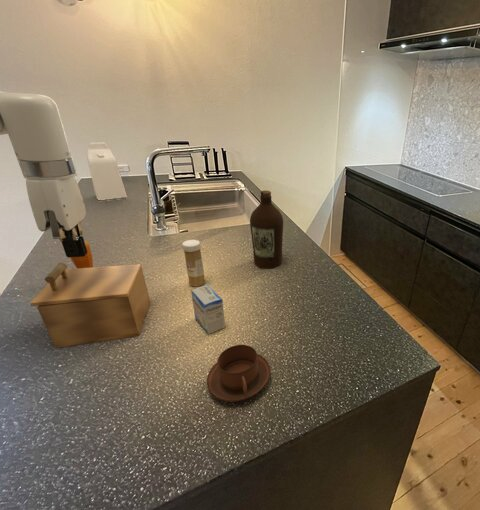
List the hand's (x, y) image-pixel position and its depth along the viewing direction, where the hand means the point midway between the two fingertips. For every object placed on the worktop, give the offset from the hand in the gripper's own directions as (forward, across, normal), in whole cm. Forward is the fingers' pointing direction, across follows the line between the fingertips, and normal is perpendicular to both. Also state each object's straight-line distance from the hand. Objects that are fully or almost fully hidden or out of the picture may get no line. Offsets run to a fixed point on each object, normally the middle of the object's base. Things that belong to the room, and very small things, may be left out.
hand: (77, 255), depth 65 cm
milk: (+19, -108, -24) cm, 112 cm away
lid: (+7, 0, +1) cm, 7 cm away
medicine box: (+18, +6, +25) cm, 31 cm away
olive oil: (+18, -23, +43) cm, 52 cm away
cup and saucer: (+18, +26, +31) cm, 44 cm away
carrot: (+19, -24, -9) cm, 32 cm away
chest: (+18, 0, +2) cm, 18 cm away
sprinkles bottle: (+18, -14, +21) cm, 31 cm away
